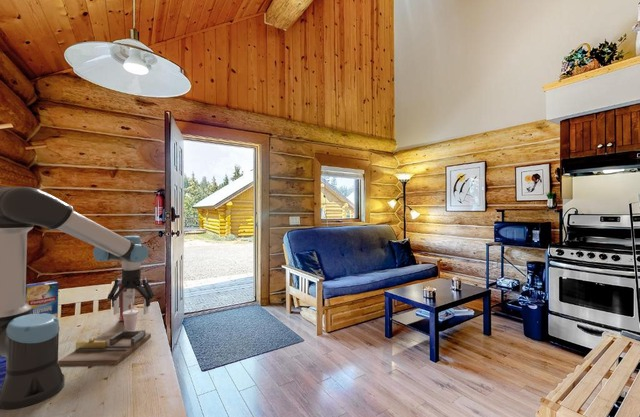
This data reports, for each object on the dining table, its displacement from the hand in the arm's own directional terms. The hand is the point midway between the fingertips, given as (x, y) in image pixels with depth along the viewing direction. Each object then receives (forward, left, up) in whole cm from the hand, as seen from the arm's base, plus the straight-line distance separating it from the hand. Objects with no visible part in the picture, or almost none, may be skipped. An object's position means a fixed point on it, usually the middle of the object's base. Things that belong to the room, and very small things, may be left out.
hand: (131, 313), depth 138 cm
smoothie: (0, 0, -9) cm, 9 cm away
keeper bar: (-20, +4, -7) cm, 22 cm away
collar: (-12, -6, -7) cm, 15 cm away
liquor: (+16, +11, -9) cm, 21 cm away
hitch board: (-17, -1, -9) cm, 19 cm away
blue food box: (+3, +43, -9) cm, 44 cm away
